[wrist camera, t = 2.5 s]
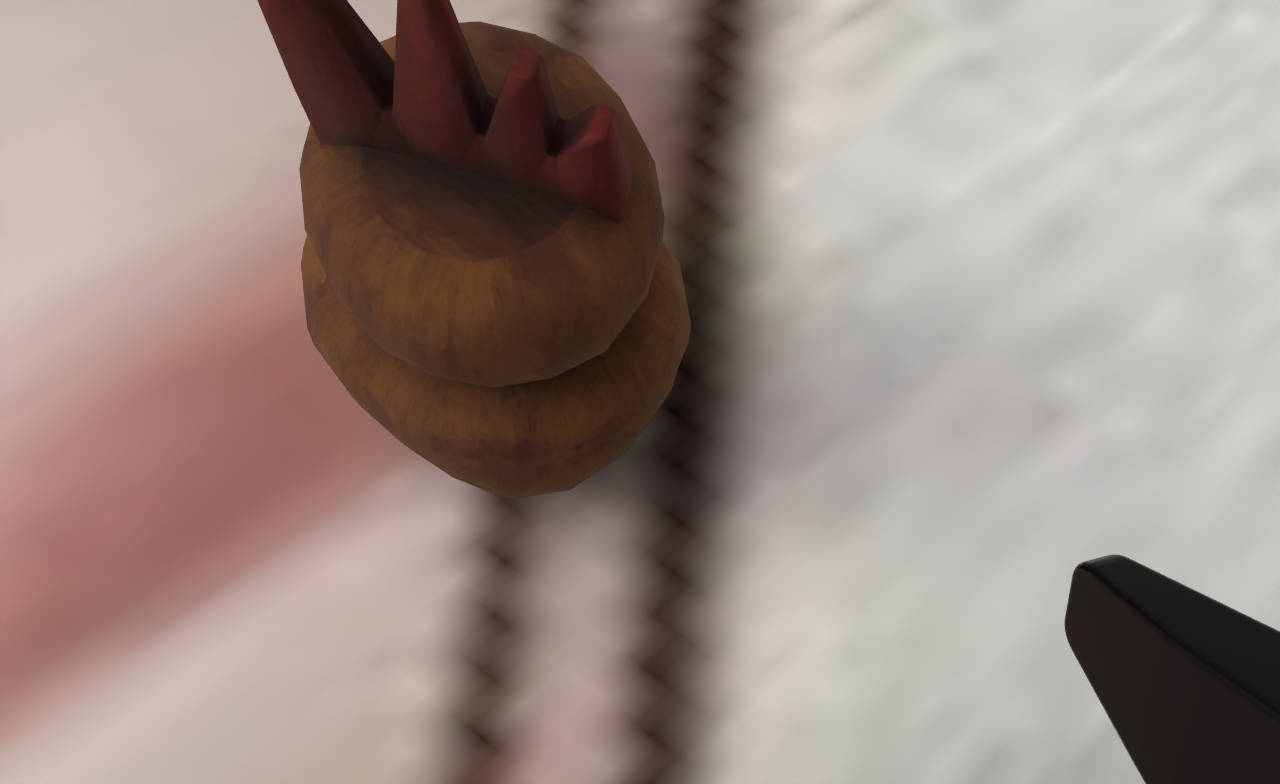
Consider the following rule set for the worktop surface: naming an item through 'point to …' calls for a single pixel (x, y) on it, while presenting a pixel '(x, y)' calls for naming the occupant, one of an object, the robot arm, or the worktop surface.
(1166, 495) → the worktop surface
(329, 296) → the wooden figurine
